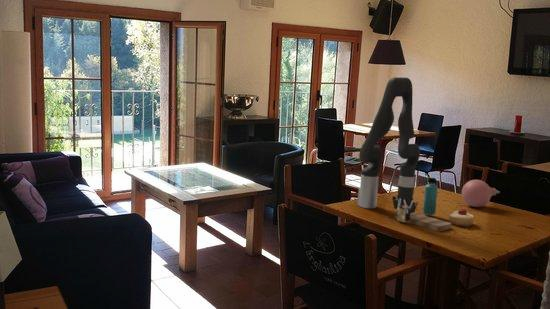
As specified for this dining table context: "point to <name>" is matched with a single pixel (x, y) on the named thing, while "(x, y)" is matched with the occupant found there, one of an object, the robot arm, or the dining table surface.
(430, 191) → the beverage bottle
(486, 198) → the balloon
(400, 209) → the beige cube mallet
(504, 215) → the dining table surface
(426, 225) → the board
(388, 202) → the dining table surface
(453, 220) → the pastry
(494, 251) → the dining table surface
